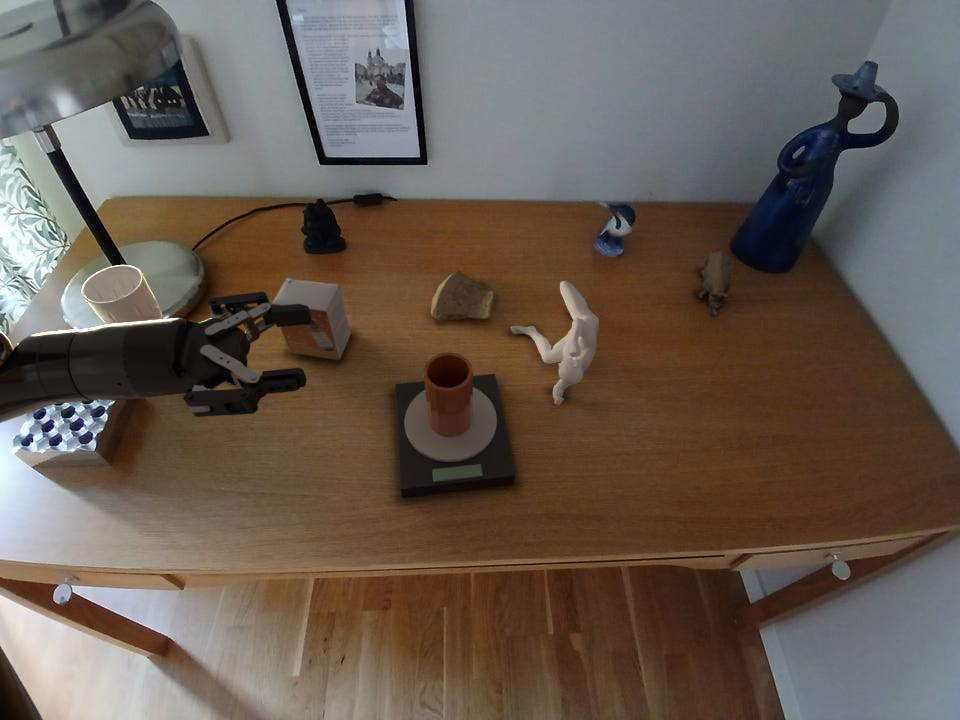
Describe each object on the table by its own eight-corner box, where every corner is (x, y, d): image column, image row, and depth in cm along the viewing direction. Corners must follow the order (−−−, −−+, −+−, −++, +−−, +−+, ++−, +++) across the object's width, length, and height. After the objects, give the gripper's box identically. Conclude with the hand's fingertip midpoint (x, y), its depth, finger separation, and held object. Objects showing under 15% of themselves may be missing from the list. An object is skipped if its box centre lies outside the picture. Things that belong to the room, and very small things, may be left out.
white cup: (109, 329, 86) (74, 280, 78) (160, 306, 89) (131, 257, 82) (127, 359, 82) (91, 311, 74) (179, 334, 85) (151, 286, 78)
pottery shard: (430, 326, 89) (488, 329, 85) (422, 305, 86) (483, 306, 82) (452, 285, 96) (507, 286, 92) (445, 264, 93) (502, 264, 90)
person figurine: (518, 267, 80) (577, 339, 67) (593, 265, 85) (662, 331, 72) (502, 341, 88) (552, 418, 75) (571, 335, 92) (630, 407, 79)
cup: (475, 434, 71) (475, 387, 63) (430, 439, 70) (425, 393, 63) (469, 398, 75) (469, 350, 67) (427, 403, 74) (421, 354, 66)
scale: (514, 484, 70) (515, 473, 68) (402, 498, 69) (400, 486, 66) (494, 384, 80) (495, 370, 78) (396, 394, 79) (394, 381, 76)
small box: (289, 354, 83) (269, 303, 75) (302, 327, 87) (285, 276, 79) (340, 361, 82) (326, 311, 74) (352, 333, 86) (339, 283, 78)
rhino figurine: (695, 325, 88) (708, 297, 83) (697, 269, 96) (709, 241, 92) (722, 330, 87) (736, 303, 83) (721, 273, 96) (734, 246, 91)
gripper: (98, 395, 47) (293, 375, 49) (140, 282, 56) (303, 269, 58) (139, 441, 53) (312, 423, 55) (171, 333, 62) (319, 319, 64)
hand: (307, 344), depth 56 cm, fingers open, 8 cm apart
